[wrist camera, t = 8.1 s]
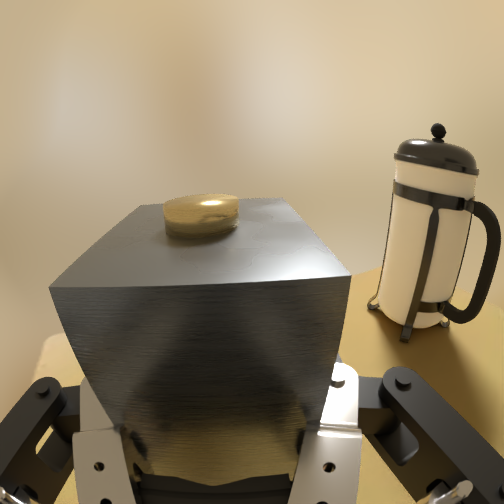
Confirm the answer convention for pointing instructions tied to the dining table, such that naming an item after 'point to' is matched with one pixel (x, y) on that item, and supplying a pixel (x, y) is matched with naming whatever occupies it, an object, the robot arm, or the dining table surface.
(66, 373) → the dining table surface
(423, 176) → the coffee press
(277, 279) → the block
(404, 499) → the dining table surface
